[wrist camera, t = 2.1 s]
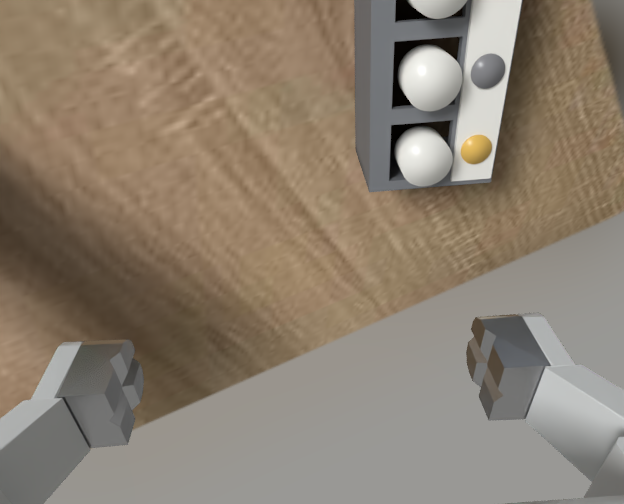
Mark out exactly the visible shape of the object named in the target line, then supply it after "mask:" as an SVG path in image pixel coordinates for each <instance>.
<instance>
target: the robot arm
mask: <svg viewBox="0 0 624 504" xmlns="http://www.w3.org/2000/svg"><path fill="white" fill-rule="evenodd" d="M471 330H472V332H473V334H474V338H472V339H471V340H470V341H469V342H468V347H467V352H466V353H467V365H468V369H469V373H470V376H471V378H472V381H473V382H475V383H476V384H477V385H479V386H480V387H481V390H480V394H479V398H480V400H481V403H482V405H483V408H484V410H485V412H486V415H487V417H488V420H512V419H526V420H525V421H526V422H527V423H528V424H529V425H530V426H531V427H533V428H534V429H535V430H536V431H537V432H538V433H539V434H540V435H541V436H542V437H543V438H544V439H546V440H547V441H548V442H549V443H550V444H551V445H552V446H553V447H554V448H555V449H556V450H558V451H559V452H560V453H561V454H562V455H563V456H564V457H565V458H566V459H567V460H569V461H570V462H571V463H572V464H573V465H574V466H575V467H576V468H577V469H578V470H579V471H581V472H582V473H583V474H584V475H585V476H586V477H587V478H588V479H589V480H590V481H592V484H591V486H590V487H589V489H588V491H587V493H586V494H585V496H584V498H578V499H563V500H550V501H535V502H522V503H507V504H624V390H623V389H622V388H620V387H618V386H617V385H615V384H613V383H612V382H610V381H608V380H607V379H605V378H604V377H602V376H600V375H598V374H597V373H595V372H594V371H592V370H591V369H589V368H587V367H586V366H584V365H582V364H575V363H574V361H573V360H572V358H571V357H570V355H569V354H568V352H567V351H566V349H565V348H564V346H563V345H562V343H561V341H560V340H559V338H558V337H557V336H556V334H555V333H554V331H553V329H552V328H551V327H550V325H549V323H548V322H547V320H546V319H545V317H544V316H543V315H542V314H540V313H528V314H518V315H515V314H514V315H500V316H487V317H476V318H475V319H474V321H473V324H472V328H471ZM134 352H135V349H134V346H133V344H132V342H131V340H128V339H123V340H96V341H82V342H63V343H62V344H61V345H60V346H58V348H57V350H56V352H55V354H54V355H53V357H52V359H51V361H50V363H49V365H48V367H47V369H46V371H45V373H44V375H43V377H42V379H41V381H40V383H39V384H38V386H37V388H36V390H35V392H34V394H33V396H32V398H31V400H24V401H23V402H21V403H20V404H19V405H17V406H16V407H15V408H13V409H12V410H11V411H10V412H8V413H7V414H6V415H4V416H3V417H2V418H1V419H0V504H44V503H45V501H46V500H47V499H48V498H49V497H50V496H51V495H52V493H53V492H54V491H55V490H56V489H57V488H58V486H59V485H60V484H61V483H62V482H63V481H64V480H65V479H66V477H67V476H68V475H69V474H70V473H71V472H72V471H73V470H74V468H75V467H76V466H77V465H78V464H79V463H80V462H81V460H82V459H83V458H84V457H85V456H86V455H87V454H88V452H89V451H90V448H97V447H107V446H118V445H128V442H129V438H130V435H131V432H132V429H133V425H134V422H135V417H134V414H133V412H132V410H133V409H134V408H135V407H136V406H137V405H138V404H139V403H140V401H141V397H142V393H143V383H144V378H143V371H142V368H141V365H140V363H139V362H138V361H136V360H135V359H133V355H134Z"/></svg>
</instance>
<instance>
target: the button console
mask: <svg viewBox="0 0 624 504" xmlns="http://www.w3.org/2000/svg"><path fill="white" fill-rule="evenodd" d="M471 3H472V0H467V2H466V3H465V4H464V6H463V12H462V16H452V17H446V18H442V19H433V18H427V19H414V20H401V21H395V9H396V0H354V4H355V130H356V153H357V156H358V159H359V162H360V165H361V168H362V171H363V174H364V177H365V180H366V183H367V187H368V190H369V192H377V191H389V190H402V189H414V188H426V187H439V186H451V185H463V184H475V183H488V182H491V179H492V174H491V178H489V179H477V180H465V181H452V182H451V180H450V178H451V170H452V166H451V169H450V171H449V172H448V174H447V175H446V176H445V177H444V178H443V179H442V180H441V181H439V182H438V183H436V184H433V185H430V186H416V185H413V184H411V183H409V182H408V181H407V180H406V179H405V178H404V176H403V174H402V172H401V170H400V168H399V165H398V163H397V161H396V159H395V155H394V148H395V144H396V142H397V140H395V141H391V125H399V124H412V123H424V122H437V121H449V120H450V129H449V136H445V137H442V138H443V140H444V141H445V142H446V144H447V145H448V146H449V148H450V150H451V152H452V156H453V153H454V145H455V136H456V128H457V120H458V111H459V103H460V95H461V88H460V91H459V93H458V94H457V96H456V97H455V99H454V100H453V102H451V103H450V104H449V105H447V106H446V107H444V108H442V109H439V110H436V111H423V110H420V109H417V108H416V107H414V106H413V105H407V106H395V107H392V90H393V63H394V42H397V41H410V40H423V39H436V38H448V37H460V39H459V48H458V57H457V62H458V64H459V65H460V68H461V70H462V78H463V70H464V62H465V53H466V45H467V37H468V28H469V20H470V12H471ZM522 3H523V0H522ZM522 3H521V8H522ZM521 8H520V14H521ZM520 14H519V20H520ZM519 20H518V25H519ZM518 25H517V31H518ZM517 31H516V37H517ZM516 37H515V43H516ZM515 43H514V48H515ZM514 48H513V54H514ZM513 54H512V60H513ZM512 60H511V65H512ZM511 65H510V71H511ZM510 71H509V77H510ZM509 77H508V82H509ZM461 87H462V85H461ZM507 88H508V83H507ZM507 88H506V94H507ZM506 94H505V99H506ZM504 105H505V100H504ZM504 105H503V111H504ZM503 111H502V116H503ZM501 122H502V117H501ZM500 128H501V123H500ZM500 128H499V133H500ZM498 139H499V134H498ZM497 145H498V140H497ZM497 145H496V150H497ZM495 156H496V151H495ZM494 162H495V157H494ZM493 167H494V163H493ZM492 173H493V168H492Z"/></svg>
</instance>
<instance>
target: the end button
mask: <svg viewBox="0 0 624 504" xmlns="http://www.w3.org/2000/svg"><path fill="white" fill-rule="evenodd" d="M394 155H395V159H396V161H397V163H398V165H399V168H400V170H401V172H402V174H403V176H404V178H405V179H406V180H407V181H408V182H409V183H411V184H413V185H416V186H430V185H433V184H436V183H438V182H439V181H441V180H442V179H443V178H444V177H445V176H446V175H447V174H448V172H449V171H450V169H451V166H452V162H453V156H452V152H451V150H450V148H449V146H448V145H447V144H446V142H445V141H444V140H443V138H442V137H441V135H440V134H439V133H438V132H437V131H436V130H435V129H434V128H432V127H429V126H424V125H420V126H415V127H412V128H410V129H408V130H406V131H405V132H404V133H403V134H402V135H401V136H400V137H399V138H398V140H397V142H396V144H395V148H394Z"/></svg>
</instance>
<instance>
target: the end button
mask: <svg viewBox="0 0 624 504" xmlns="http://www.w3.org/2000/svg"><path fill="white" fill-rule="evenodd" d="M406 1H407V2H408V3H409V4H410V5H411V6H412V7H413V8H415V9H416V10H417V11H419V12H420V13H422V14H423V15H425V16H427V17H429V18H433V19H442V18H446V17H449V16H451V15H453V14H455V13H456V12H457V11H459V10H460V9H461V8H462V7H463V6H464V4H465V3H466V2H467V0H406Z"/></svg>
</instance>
